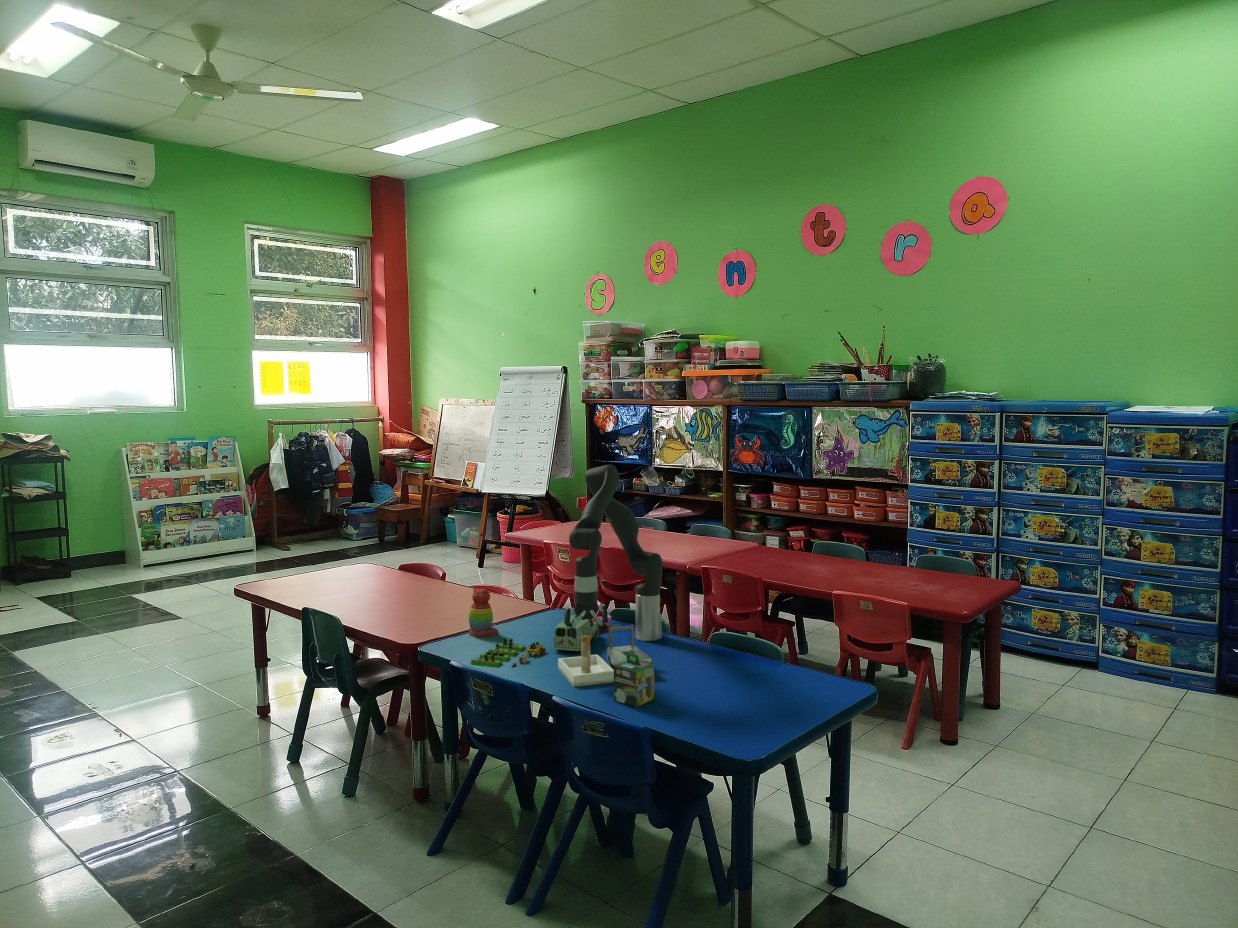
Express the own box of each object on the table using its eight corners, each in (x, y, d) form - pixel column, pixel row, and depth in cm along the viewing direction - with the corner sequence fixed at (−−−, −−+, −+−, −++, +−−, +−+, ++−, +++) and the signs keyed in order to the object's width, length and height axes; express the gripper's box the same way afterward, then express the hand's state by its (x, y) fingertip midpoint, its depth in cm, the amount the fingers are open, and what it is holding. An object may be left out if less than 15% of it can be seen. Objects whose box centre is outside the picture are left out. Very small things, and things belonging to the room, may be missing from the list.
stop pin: (589, 670, 276) (588, 634, 276) (591, 672, 274) (591, 637, 273) (580, 671, 275) (579, 635, 275) (582, 673, 273) (582, 638, 272)
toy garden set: (500, 647, 308) (500, 635, 308) (548, 652, 302) (548, 639, 302) (470, 665, 286) (470, 652, 286) (521, 671, 280) (521, 658, 280)
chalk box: (655, 699, 252) (655, 651, 251) (636, 708, 245) (636, 659, 244) (631, 692, 258) (631, 646, 257) (612, 701, 251) (612, 653, 250)
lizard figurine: (563, 631, 330) (563, 613, 329) (601, 622, 343) (601, 604, 342) (587, 639, 319) (587, 620, 318) (625, 629, 332) (625, 611, 332)
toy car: (598, 636, 320) (598, 611, 320) (579, 655, 297) (579, 627, 296) (572, 634, 323) (572, 609, 322) (551, 653, 299) (551, 625, 298)
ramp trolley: (634, 661, 289) (634, 625, 288) (651, 676, 274) (651, 637, 273) (607, 664, 285) (607, 627, 284) (622, 679, 270) (622, 640, 269)
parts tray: (597, 664, 286) (597, 654, 286) (615, 681, 268) (615, 671, 268) (558, 668, 281) (558, 658, 281) (573, 686, 263) (573, 675, 263)
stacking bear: (500, 632, 326) (500, 587, 324) (483, 638, 317) (482, 592, 316) (480, 628, 331) (479, 584, 330) (462, 634, 323) (461, 589, 321)
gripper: (603, 584, 278) (603, 632, 280) (561, 588, 274) (562, 636, 275) (610, 589, 271) (610, 638, 272) (568, 592, 266) (568, 642, 268)
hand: (586, 637), depth 274 cm, fingers open, 8 cm apart
